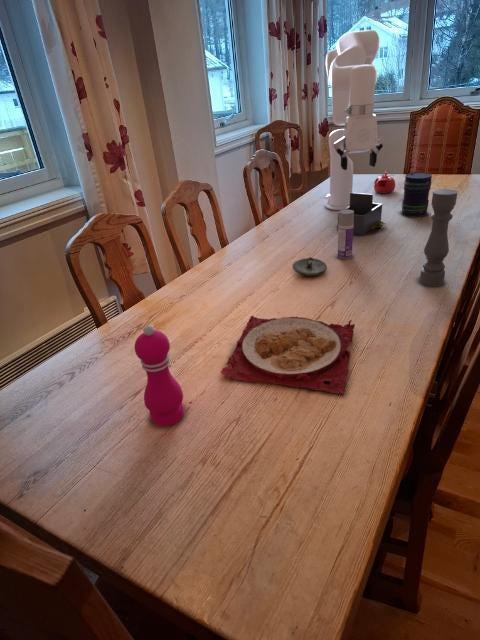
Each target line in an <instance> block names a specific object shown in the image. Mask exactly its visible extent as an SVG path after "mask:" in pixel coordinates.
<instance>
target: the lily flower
mask: <svg viewBox="0 0 480 640" xmlns="http://www.w3.org/2000/svg"><path fill="white" fill-rule="evenodd" d="M379 224H380V225H379ZM384 225H386V223H385V222H383V221H382V220H381V221H379V222H378V223H377V224H376V225H374V226H373V227H372V229H374V228H375V227H381V228H382V229H383V228H385V226H384Z"/></svg>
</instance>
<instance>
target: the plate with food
mask: <svg viewBox="0 0 480 640" xmlns="http://www.w3.org/2000/svg"><path fill="white" fill-rule="evenodd" d="M352 321H353V320H352V319H350V320H348V323H346V324H344V325H342V324H335V323H330V324H328V323H326V322H324V321H321V320H314V319H311V318H307V317H303V316H301V317H299V316H287V317H285V316H284V317H279V318H275V317H273V318H260V317H255V316H254V315H251V316H250V318H249V319H248V321H247V323H246V325H245V327H244V329H243V330H242V333H241V336H240V337H239V338H238V340H237V341H236V347H235V349H234V351H233V353H232V354H231V355H230V356H229V357H228V359H227V362H225V365H226V366H225V367H222V369H221V370H220V374H221V375H222V376H224V377H225V378H230V379H232V380H234V381H235V380H237V381H243V382H249V383H250V382H252V383H254V382H256V381H259V382H260V383H267V384H271V383H272V384H277V385H281V386H287V387H292V388H299V387H300V388H301V389H302V388H307V389H309V390H314V391H324V392H326V393H331V394H341V395H343V394H344V393H345V386H346V380H347V375H348V369H349V363H350V357H351V351H350V350H348V348H349V345H350V344H351V343H353V339H354V333H355V330H354V329H355V327H356V325H355V324H354V323H353V324H351V323H352ZM324 382H329V384H326V383H324Z"/></svg>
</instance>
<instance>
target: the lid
mask: <svg viewBox="0 0 480 640" xmlns="http://www.w3.org/2000/svg"><path fill="white" fill-rule="evenodd" d="M327 269H328V267H327V264H326V263H325V262H324V261H323V260H321V259H318V258H314V257H305V258H300V259H298V260H295V261H294V262H293V263H292V270H293V271H294V272H296V273H297V274H299V275H303V276H308V277H316V276H318V275H322V274H323V273H324V272H326V271H327Z"/></svg>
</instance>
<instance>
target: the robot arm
mask: <svg viewBox="0 0 480 640" xmlns="http://www.w3.org/2000/svg"><path fill="white" fill-rule="evenodd" d="M380 44H381V43H380V35H379V33H378V32H377V31H376V30H375V29H364V30H354V31H348V32H346V33H343V34H342V35H341V36H340V37H339V38H338V40H337V42H336V48H333V49H330V50H329V51H328V52H327V53H326V56H325V69H326V70H325V71H326V75H327V78H328V81H329V83H330V88H331V118H332V119H331V120H332V122H333V124H334V125H335V126H344V128H339V129H335V130H332V132H330V134H329V136H328V149H329V160H330V161H329V162H330V163H329V165H330V168H329V169H330V170H329V193H326V195H325V196H324V197H323V198H324V200H327V202H326V203H325V207H326V208H327V209H329V210H333V211H341V210H344V209H346V208H347V207H349V206H350V193H351V192H353V185H354V184H353V183H354V179H353V178H354V162H353V160H352V159H351V158H350V157H349V156H348V155H350V154H358V153H359V154H360V153H367V152H369V151H370V153H369V163H368V164H369V165H368V166H370V167H372V168H374V167H376V164H377V160H378V154H379V152H380V151H381V149H382V148H383V147H384V144H385V142H386V140H387V138H386V137H384V136H383V135H381V134H378V120H377V119H378V118H377V114H374V110H375V109H374V108H375V96H376V95H375V94H376V84H377V80H378V70H377V67H376V66H375V65H373V64H374V62H375V60H376V58H377V56H378V53H379V51H380Z"/></svg>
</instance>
